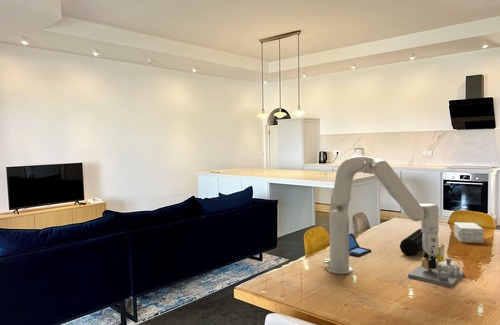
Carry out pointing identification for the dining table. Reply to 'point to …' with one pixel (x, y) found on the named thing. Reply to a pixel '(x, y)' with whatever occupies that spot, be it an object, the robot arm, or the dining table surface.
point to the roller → (412, 243)
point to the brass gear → (425, 263)
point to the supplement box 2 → (468, 232)
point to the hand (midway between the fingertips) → (429, 265)
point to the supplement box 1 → (440, 254)
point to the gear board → (434, 276)
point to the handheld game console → (356, 247)
